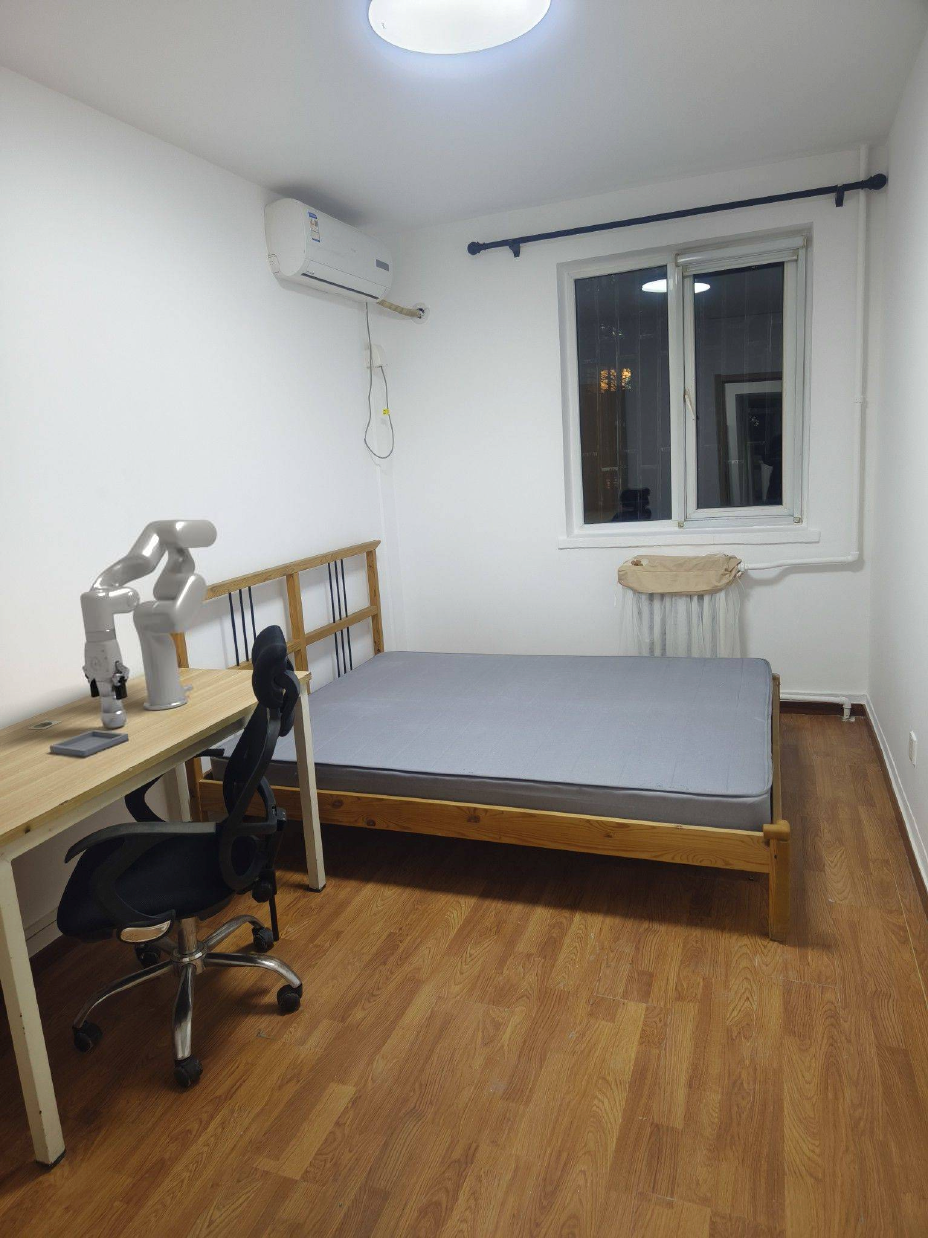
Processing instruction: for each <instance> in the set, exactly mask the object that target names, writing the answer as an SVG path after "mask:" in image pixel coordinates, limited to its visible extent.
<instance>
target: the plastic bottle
mask: <svg viewBox="0 0 928 1238" xmlns="http://www.w3.org/2000/svg"><path fill="white" fill-rule="evenodd" d="M117 679H118V680H119V679H120V678H119V677H118V678H117ZM95 680H96V684H97V687H98V690H99V695H100V696H99V697H100V709H101V714H100V720H101V721H100V722H101V723H102V726H103V727H104V728H106V729H116V728H120V727H122V726H124V725H126V722H127V717H128V716H127V712H126V709H125V708H124V703H123V699H121V700H116V695H115V688H114V686H116V684H115V683H114V681H113V680H112V678H111V679H100V678H95Z"/></svg>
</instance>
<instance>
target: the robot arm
mask: <svg viewBox="0 0 928 1238" xmlns="http://www.w3.org/2000/svg"><path fill="white" fill-rule="evenodd" d="M217 537H218V532H217V529H216V526H215V524H214V523H212V522H211V520H207V519H163V520H162V519H161V520H153V521H150V522H149V523H148V524H146V526H145V527H144V529H142V532H141V533H140V535H139V536H138V538H137V540H135V543H134V544H133V545H132V546H131V548H130V550H129V551H128V553H126V555H125V556H123V557H122V558H120V559H119V560H117V561H115V562H114V563H113V564H111V565H109V567H107V568H105V570H103V571H102V572H101V573H100V574H99V575H98V577H96V579H95V580H94V582H93V583H92V585H91V586H90V589H89V591H86V592H83V593H82V594H81V595H80V599H79V600H80V608H81V613H82V615H81V616H82V621H83V622H82V623H83V629H84V634H85V635H84V636H85V642H84V652H83V655H84V665H83V666H82V668H81V669H82V671H83V673H84V677H85V678H86V679H87V684H89V689H90V696H91V699H94V698H95V699H96V698H98V697H100V695H99V690H98V687H97V684H96V680H95V678H100V679H111V678H112V680H113V681H114V683H115V684H116V686H114V688H115V695H116V700H121V699H122V700H123V699H126V698H128V691H127V683H128V680H129V674H130V669H129V668H128V667H127V666H126V665H125V664H124V662H123V657H122V656H123V655H122V653H121V649H120V645H119V642H118V640H117V633H116V632H117V631H116V625H115V617H114V615H119V614H120V615H121V614H129V613H130V614H131V613H132V612H133V613H132V622H133V625H134V629H135V631H136V632H137V637H138V640H139V644H140V645H139V646H140V649H141V656H142V663H143V664H142V665H143V671H144V678H145V685H146V692H147V693H146V694H147V699H148V700H147V701H145V702H144V703H143V708H144V709H145V710H149V711H159V710H161V711H163V710H167V709H174V708H177V707H181V706H183V705H184V704H186V703H188V701H189V697H188V696H187V695H186V693H188V692H190V691H193V690H194V686H193V684H191V683H189V684H186V685H185V686H184V685H181V680H180V671H179V664H178V663H179V662H178V656H177V649H176V644H175V641H174V639H173V637H172V636H171V634H178V633H179V634H181V633H185V632H186V631H188V630H189V629H190V627H192V625H193V623H194V621H195V619H197V616H198V614H199V612H200V610H201V608H202V606H203V604H204V602H205V600H206V597H207V591H208V589H207V582H206V580H205V578H204V577H203V576H202V575H201V574H199V573H197V572H195V570H196V563H195V560H194V558H193V555H192V554H191V552H190V551H191V550H190V549H197V548H209V547H211V546H212V545H213V544H215V542H216V540H217ZM166 552H167V561H166V564H165V565H164V567H163V568H162V570H161V572H160V574H159V576H158V578H157V579H156V581H155V584H154V585H153V587H152V588H153V589H152V596H153V598H154V599H155V600H146V601H143V602H141V597H140V594H139V592H138V591H137V590H136V589H134V588H133V587H131V586H125V585H126V584H129V583H131V582H133V581H136V580H138V579H141V578H144V577H146V576H149V575H151V574H152V573H153V572H155V570H156V569H157V568H158V565H159V564H160V562H161V560H162V559H163V557H164V556H165V554H166ZM140 602H141V603H140ZM118 677H119V678H120V679H119V680H118V679H117V678H118Z"/></svg>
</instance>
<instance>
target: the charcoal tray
mask: <svg viewBox="0 0 928 1238" xmlns="http://www.w3.org/2000/svg"><path fill="white" fill-rule="evenodd" d="M129 740H130V739H129V734H128V733H123V732H122V733H121V732H115V731H107V730H98V729H92V730H89V731H86V732H83V733H81V734H78V735H75V736H73V737H70V738H67V739H65V740H62V741H59V742H57V743H53V744H50V745H49V750H50V753H51V752H53V753H52V754H56V753H57V754H58V755H63V754H64V755H63V756H71V757H77V758H83V757H84V759H87V758H89V757H91V756H93V755H94V756H95V755H97V754H99V753H102V752H104V751H107V750H109V749H111V748H114V747H117V746H120V745H122V744H124V743H126V742H129ZM106 749H107V750H106ZM101 751H102V752H101ZM98 752H99V753H98ZM57 754H56V755H57ZM86 757H87V758H86Z"/></svg>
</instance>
